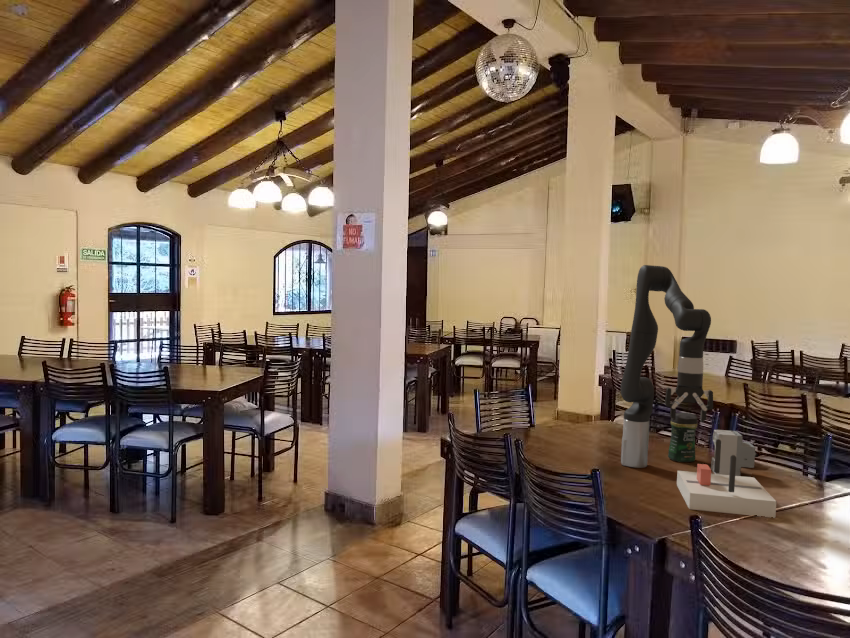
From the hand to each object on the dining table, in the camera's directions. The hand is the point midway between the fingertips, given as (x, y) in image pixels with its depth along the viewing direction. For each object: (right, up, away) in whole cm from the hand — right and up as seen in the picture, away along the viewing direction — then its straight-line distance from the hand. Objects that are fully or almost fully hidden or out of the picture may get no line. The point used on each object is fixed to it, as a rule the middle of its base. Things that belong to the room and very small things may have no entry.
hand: (687, 420), depth 205 cm
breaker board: (+10, -25, -2) cm, 27 cm away
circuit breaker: (+28, -24, +28) cm, 46 cm away
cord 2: (+8, -20, -12) cm, 25 cm away
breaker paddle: (+5, -19, -1) cm, 20 cm away
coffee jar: (+16, -23, +44) cm, 52 cm away
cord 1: (+13, -19, +7) cm, 24 cm away
